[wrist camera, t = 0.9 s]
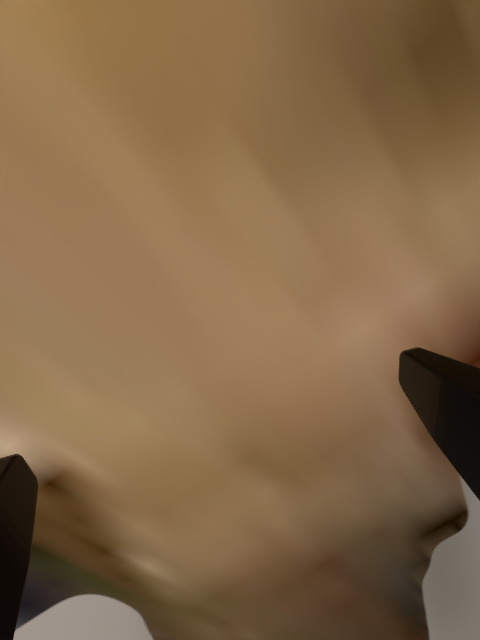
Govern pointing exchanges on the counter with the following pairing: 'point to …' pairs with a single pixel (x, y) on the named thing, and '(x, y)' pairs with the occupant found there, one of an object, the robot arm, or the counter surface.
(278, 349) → the counter surface
